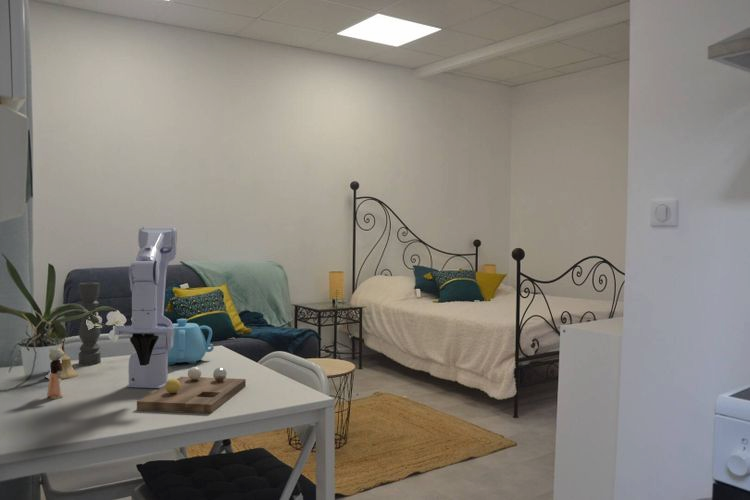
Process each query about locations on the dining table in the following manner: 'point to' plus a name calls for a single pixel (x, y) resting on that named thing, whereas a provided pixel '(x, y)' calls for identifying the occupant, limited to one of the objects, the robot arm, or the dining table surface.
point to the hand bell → (67, 366)
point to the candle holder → (88, 337)
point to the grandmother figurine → (55, 373)
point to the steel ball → (219, 374)
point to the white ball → (194, 373)
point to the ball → (172, 385)
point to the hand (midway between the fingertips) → (144, 364)
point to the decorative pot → (188, 343)
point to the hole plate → (193, 395)
